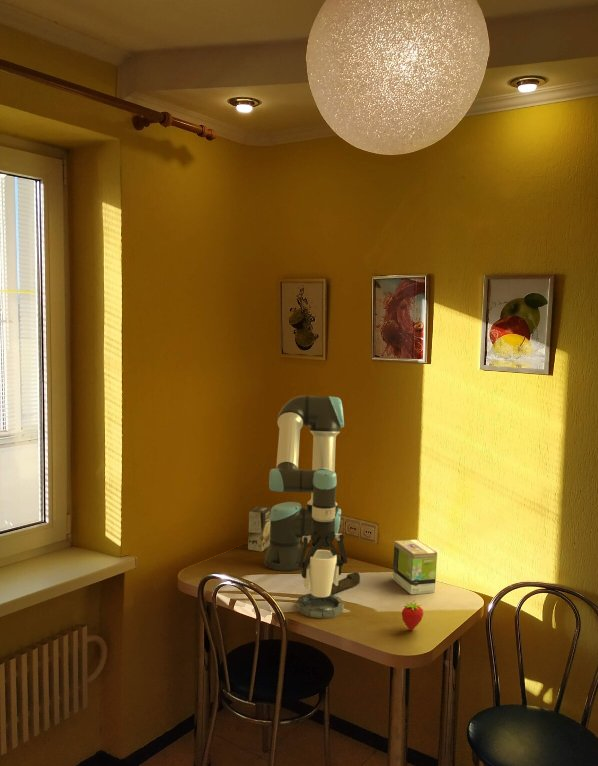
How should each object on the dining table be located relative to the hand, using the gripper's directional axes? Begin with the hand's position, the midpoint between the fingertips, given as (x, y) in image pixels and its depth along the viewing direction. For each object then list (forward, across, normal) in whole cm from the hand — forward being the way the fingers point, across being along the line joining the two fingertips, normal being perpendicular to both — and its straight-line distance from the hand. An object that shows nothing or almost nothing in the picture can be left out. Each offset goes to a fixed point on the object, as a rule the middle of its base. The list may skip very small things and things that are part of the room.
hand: (320, 585), depth 228 cm
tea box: (+8, +39, +10) cm, 41 cm away
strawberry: (+8, +22, -22) cm, 32 cm away
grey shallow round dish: (+8, 0, 0) cm, 8 cm away
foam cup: (+3, 0, 0) cm, 3 cm away
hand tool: (+8, +12, +13) cm, 20 cm away
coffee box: (+8, -4, +62) cm, 62 cm away
